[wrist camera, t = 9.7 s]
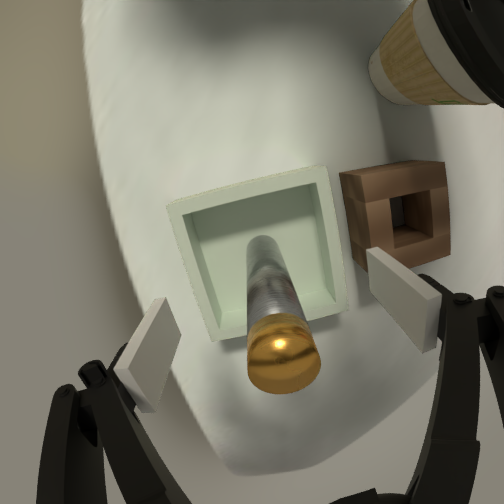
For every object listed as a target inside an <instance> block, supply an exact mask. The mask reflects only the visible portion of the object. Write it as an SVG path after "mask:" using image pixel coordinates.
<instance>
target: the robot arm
mask: <svg viewBox="0 0 504 504" xmlns="http://www.w3.org/2000/svg"><path fill="white" fill-rule="evenodd" d="M366 254H367V264H368V275H369V288H370V292H371V293H372V294H373V295H374V297H375V298H376V299H377V300H378V301H379V302H380V303H381V305H382V306H383V307H384V308H385V309H386V310H387V311H388V313H389V314H390V315H391V316H392V317H393V318H394V320H395V321H396V322H397V323H398V324H399V326H400V327H401V328H402V329H403V330H404V332H405V333H406V334H407V335H408V336H409V338H410V339H411V340H412V341H413V342H414V344H415V345H416V346H417V347H418V349H419V350H420V351H421V352H422V353H424V352H427V351H429V350H431V349H434V348H436V344H437V337H438V338H439V339H440V340H441V341H442V346H441V352H440V357H439V361H440V363H439V370H438V378H437V384H436V390H435V395H434V401H433V406H432V410H431V416H430V419H429V424H428V428H427V432H426V436H425V439H424V443H423V446H422V450H421V453H420V456H419V460H418V463H417V466H416V469H415V472H414V475H413V477H412V480H411V482H410V484H409V487H408V489H407V491H406V493H405V495H404V494H395V493H385V494H377V492H376V489H375V488H373V489H370V490H367V491H364V492H361V493H357V494H354V495H351V496H347V497H344V498H340V499H338V500H336V501H334V502H332V503H330V504H468V503H469V500H470V496H471V492H472V488H473V484H474V480H475V475H476V470H477V464H478V458H479V452H480V442H479V441H477V440H476V433H477V425H478V413H479V397H480V353H479V346H480V348H481V351H482V354H483V356H484V359H485V362H486V365H487V368H488V371H489V374H490V377H491V380H492V383H493V387H494V391H495V394H496V397H497V401H498V405H499V409H500V414H501V418H502V422H503V427H504V287H503V286H493V287H490V288H489V289H488V290H487V294H486V298H483V299H478V300H474V298H473V297H472V296H471V295H469V294H466V293H455V294H453V293H452V292H451V291H449V290H448V289H447V288H445V287H444V286H443V285H440V283H438V282H437V281H436V280H434V279H433V278H432V277H430V276H428V275H424V274H419V275H416V274H415V273H413V272H412V271H411V270H409V269H408V268H407V267H405V266H404V265H402V264H401V263H400V262H398V261H397V260H396V259H394V258H393V257H391V256H390V255H389V254H387V253H386V252H384V251H383V250H381V249H380V248H379V247H374V248H371V249H367V250H366ZM180 338H181V333H180V331H179V328H178V326H177V323H176V321H175V319H174V316H173V314H172V311H171V309H170V306H169V304H168V301H167V299H166V297H164V298H160V299H155V300H154V301H153V303H152V305H151V306H150V308H149V309H148V311H147V313H146V314H145V316H144V318H143V320H142V321H141V323H140V324H139V326H138V328H137V329H136V331H135V333H134V334H133V336H132V338H131V339H130V341H129V343H126V344H124V346H122V347H121V348H120V349H119V351H118V352H117V354H116V356H115V358H114V359H113V361H112V363H111V364H110V366H109V368H108V369H107V370H106V368H105V366H104V365H103V363H102V362H101V361H100V360H93V361H90V362H88V363H86V364H84V365H83V366H82V367H81V368H80V370H79V371H78V375H79V377H80V378H81V380H82V381H83V383H84V384H85V386H86V387H87V389H85V390H81V391H77V390H76V389H75V387H74V386H73V385H72V384H66V385H64V386H61V387H59V388H58V389H57V391H56V392H55V394H54V396H53V400H52V403H51V408H50V412H49V417H48V421H47V426H46V430H45V436H44V441H43V447H42V453H41V460H40V468H39V476H38V485H37V499H36V504H107V495H106V486H105V474H104V456H103V447H104V450H105V453H106V456H107V458H108V461H109V464H110V466H111V469H112V471H113V474H114V477H115V479H116V481H117V484H118V486H119V488H120V491H121V493H122V495H123V497H124V500H125V502H126V504H192V503H191V502H190V501H189V499H188V498H187V496H186V495H185V493H184V492H183V491H182V489H181V488H180V486H179V485H178V484H177V482H176V481H175V479H174V478H173V476H172V475H171V473H170V472H169V470H168V469H167V467H166V465H165V464H164V462H163V460H162V459H161V457H160V456H159V454H158V452H157V451H156V449H155V447H154V446H153V444H152V442H151V440H150V439H149V437H148V435H147V433H146V431H145V430H144V428H143V426H142V424H141V422H140V420H139V418H138V416H137V415H136V413H135V412H134V408H135V406H136V405H137V406H138V408H139V409H140V411H141V412H142V413H153V412H156V410H157V407H158V404H159V401H160V398H161V395H162V391H163V388H164V385H165V382H166V379H167V376H168V373H169V370H170V367H171V364H172V361H173V358H174V355H175V352H176V349H177V346H178V343H179V340H180Z"/></svg>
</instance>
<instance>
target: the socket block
mask: <svg viewBox="0 0 504 504" xmlns="http://www.w3.org/2000/svg"><path fill="white" fill-rule="evenodd" d="M339 176H340V181H341V186H342V191H343V197H344V203H345V208H346V214H347V221H348V227H349V234H350V241H351V248H352V256H353V259H354V260H355V261H356V262H357V263H358V264H359V265H360V266H361V267H362V268H363V269H364V270H365V271H366V272H367V273H368V264H367V254H366V250H367V249H371V248H374V247H379V248H380V249H381V250H383V251H384V252H386V253H387V254H389V255H390V256H391V257H393V258H394V259H396V260H397V261H398V262H400V263H401V264H402V265H404V266H405V267H407V268H408V269H409V268H412V267H415V266H419V265H422V264H425V263H428V262H431V261H434V260H437V259H440V258H443V257H446V256H448V255H450V250H451V243H450V212H449V197H448V186H447V177H446V169H445V162H437V161H419V160H412V161H405V162H398V163H392V164H386V165H380V166H374V167H368V168H362V169H357V170H351V171H346V172H341V173H339ZM397 196H402V202H403V211H404V221H405V225H401V226H398V227H394V228H393V227H392V218H391V209H390V201H389V198H393V197H397Z"/></svg>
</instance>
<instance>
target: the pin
mask: <svg viewBox="0 0 504 504" xmlns="http://www.w3.org/2000/svg"><path fill="white" fill-rule="evenodd" d="M246 281H247V367H248V376H249V379H250V381H251V382H252V383H253V384H254V385H255V386H256V387H257V388H258V389H260V390H262V391H264V392H267V393H272V394H288V393H293V392H296V391H299V390H301V389H303V388H305V387H306V386H308V385H309V384H310V383H311V382H313V381H314V379H315V378H316V377H317V375H318V373H319V371H320V367H321V360H320V356H319V353H318V351H317V348H316V345H315V342H314V340H313V337H312V334H311V331H310V328H309V326H308V323H307V320H306V318H305V315H304V312H303V309H302V307H301V304H300V301H299V299H298V296H297V293H296V291H295V288H294V285H293V283H292V280H291V277H290V275H289V272H288V269H287V267H286V264H285V262H284V259H283V256H282V254H281V251H280V249H279V246H278V244H277V242H276V241H275V240H274V239H273V238H272V237H270V236H267V235H259V236H256V237H254V238H253V239H251V240H250V242H249V243H248V245H247V248H246Z"/></svg>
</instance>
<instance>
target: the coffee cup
mask: <svg viewBox="0 0 504 504" xmlns="http://www.w3.org/2000/svg"><path fill="white" fill-rule="evenodd" d="M368 70H369V75H370V78H371V81H372V82H373V84H374V86H375V87H376V89H377V90H378V91H379V93H380V94H381V95H382V96H384V97H385V98H386V99H387V100H389V101H391V102H393V103H395V104H398V105H414V104H422V105H487V104H490V103H496V104H497V105H499V106H500V107H502V108H504V0H413V2H412V3H411V4H410V5H409V6H408V8H407V9H406V10H405V11H404V13H403V14H402V15H401V16H400V18H399V19H398V20H397V21H396V22H395V24H394V25H393V26H392V27H391V29H390V30H389V31H388V32H387V34H386V35H385V36H384V38H383V39H382V41H381V44H380V45H379V46H378V48H377V49H376V50H375V51H374V52H373V54H372V55H371V57H370V59H369V63H368Z"/></svg>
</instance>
